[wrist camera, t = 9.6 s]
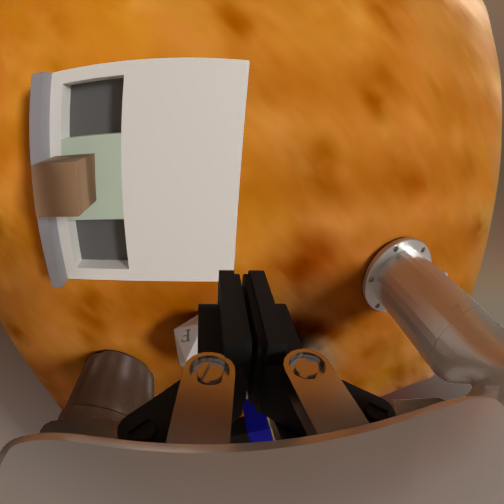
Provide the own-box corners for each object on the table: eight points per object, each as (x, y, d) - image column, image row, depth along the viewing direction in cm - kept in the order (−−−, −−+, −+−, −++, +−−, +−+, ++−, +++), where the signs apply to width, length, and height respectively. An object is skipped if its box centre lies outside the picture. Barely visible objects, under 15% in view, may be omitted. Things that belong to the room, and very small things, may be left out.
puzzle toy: (258, 380, 47) (268, 428, 38) (266, 408, 51) (276, 451, 42) (201, 391, 46) (204, 440, 37) (217, 418, 51) (221, 461, 42)
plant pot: (72, 326, 37) (37, 412, 22) (173, 352, 41) (170, 447, 27) (77, 387, 43) (59, 459, 28) (159, 407, 47) (157, 483, 33)
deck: (246, 64, 26) (252, 56, 22) (231, 270, 36) (234, 291, 32) (51, 77, 22) (31, 74, 18) (65, 268, 32) (52, 286, 28)
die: (239, 297, 39) (198, 320, 30) (260, 355, 39) (227, 390, 30) (193, 310, 42) (149, 331, 34) (213, 362, 42) (176, 392, 33)
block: (94, 153, 25) (75, 161, 21) (96, 200, 27) (78, 216, 23) (54, 156, 24) (30, 165, 20) (57, 201, 26) (36, 217, 22)
